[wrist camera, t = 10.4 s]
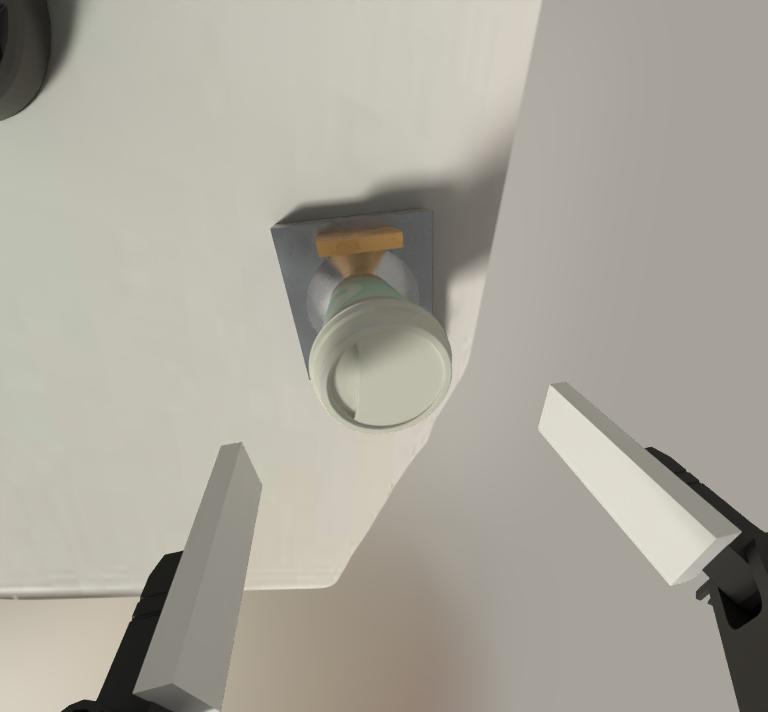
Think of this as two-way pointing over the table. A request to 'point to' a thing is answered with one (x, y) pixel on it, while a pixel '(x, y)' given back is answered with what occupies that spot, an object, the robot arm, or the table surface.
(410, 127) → the table surface
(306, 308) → the block
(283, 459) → the table surface
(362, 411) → the coffee cup
